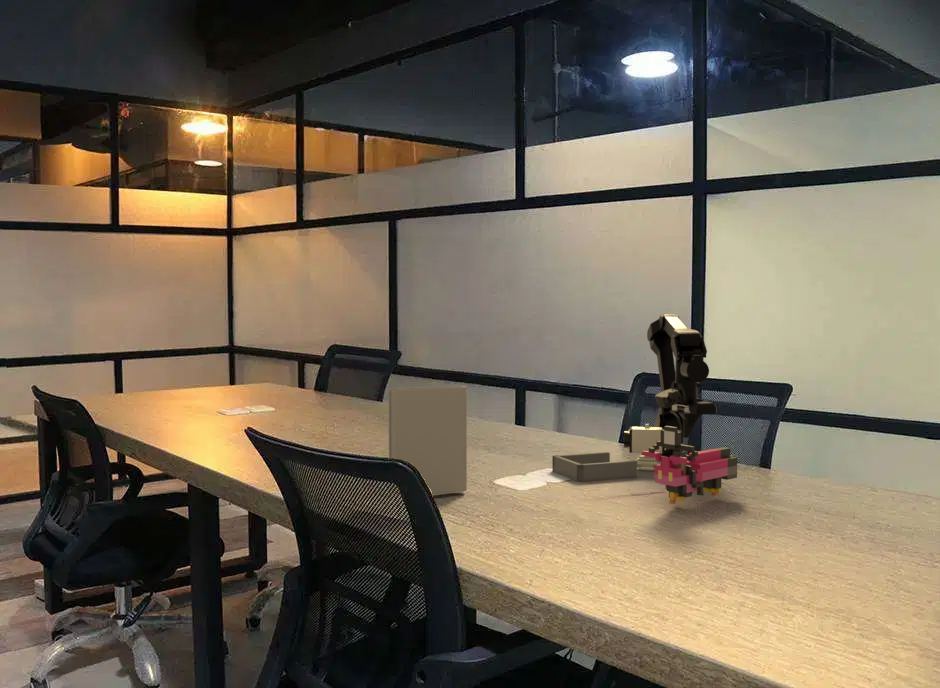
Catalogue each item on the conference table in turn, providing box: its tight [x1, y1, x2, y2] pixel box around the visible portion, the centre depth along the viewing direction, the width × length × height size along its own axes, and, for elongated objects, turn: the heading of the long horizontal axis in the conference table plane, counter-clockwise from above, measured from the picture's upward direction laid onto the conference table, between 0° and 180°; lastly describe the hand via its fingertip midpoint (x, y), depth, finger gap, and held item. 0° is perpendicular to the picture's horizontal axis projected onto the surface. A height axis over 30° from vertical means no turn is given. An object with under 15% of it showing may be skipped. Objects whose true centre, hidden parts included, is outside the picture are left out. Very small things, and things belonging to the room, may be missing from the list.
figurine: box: [641, 426, 738, 505], centre depth 186 cm, size 11×25×17 cm, turn 129°
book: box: [388, 385, 468, 496], centre depth 191 cm, size 18×4×24 cm, turn 116°
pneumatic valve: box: [623, 423, 668, 472], centre depth 219 cm, size 6×12×12 cm, turn 79°
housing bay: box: [551, 451, 638, 483], centre depth 213 cm, size 16×14×4 cm
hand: (685, 437), depth 223 cm, fingers closed
